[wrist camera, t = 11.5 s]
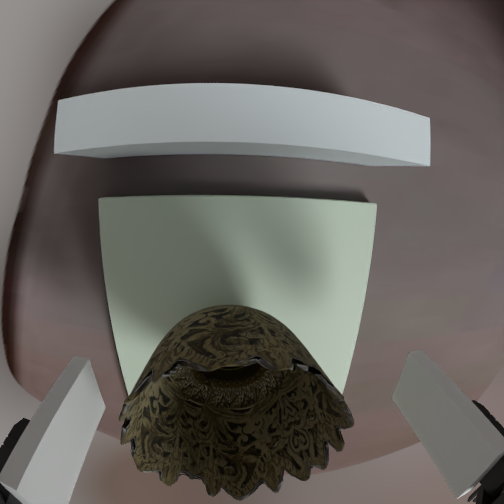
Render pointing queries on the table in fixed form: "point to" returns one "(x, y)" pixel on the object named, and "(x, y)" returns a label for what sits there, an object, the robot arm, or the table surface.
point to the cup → (233, 404)
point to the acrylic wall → (240, 124)
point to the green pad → (236, 268)
